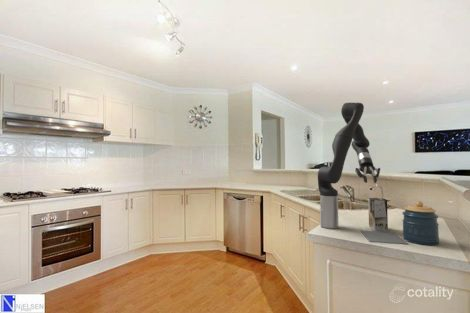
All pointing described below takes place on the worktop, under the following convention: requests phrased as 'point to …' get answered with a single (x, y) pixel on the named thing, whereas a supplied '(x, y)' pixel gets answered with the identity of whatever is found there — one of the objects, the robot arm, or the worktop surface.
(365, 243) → the worktop surface
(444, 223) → the worktop surface
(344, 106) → the robot arm
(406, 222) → the canister
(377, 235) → the charcoal mat
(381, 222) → the coffee box
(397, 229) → the worktop surface
